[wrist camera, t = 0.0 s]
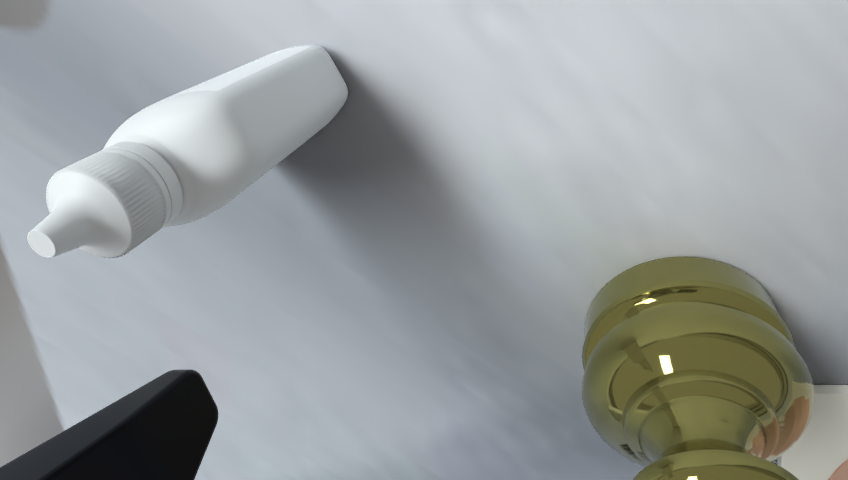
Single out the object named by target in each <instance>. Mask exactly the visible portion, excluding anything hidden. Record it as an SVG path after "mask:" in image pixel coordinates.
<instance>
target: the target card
mask: <svg viewBox="0 0 848 480" xmlns="http://www.w3.org/2000/svg"><path fill="white" fill-rule="evenodd" d="M814 390H815V403H814V409H813V413H812V417H811V419H810V422H809V424H808V426H807V428H806V430H805V431H804V433H803V434H802V436H801V437H800V438H799V440H798V441H797V442H796V443H795V444H794V445H793V446H792V447H791V448H790V449H789V450H788V451H786V452H785V453H784V454H782V455H781V456H780V457H778V460H777V465H778V466H780V467H782V468H784V469H786V470H787V471H789V472H790V473H792V474H793V475H794V476H795V477H797V478H798V479H799V480H848V385H814Z"/></svg>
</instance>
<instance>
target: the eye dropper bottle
mask: <svg viewBox="0 0 848 480" xmlns="http://www.w3.org/2000/svg"><path fill="white" fill-rule="evenodd" d="M347 96H348V89H347V86H346V83H345V82H344V80H343V78H342V76H341V74H340V73H339V71H338V69H337V67H336V66H335V64H334V62H333V60H332V59H331V57H330V56H329V54H328V53H327V52H326V51H325V50H324V49H323V47H320V46H317V45H302V46H295V47H290V48H286V49H282V50H279V51H276V52H274V53H271V54H269V55H266V56H264V57H262V58H259V59H257V60H255V61H252V62H250V63H247V64H245V65H243V66H240V67H238V68H236V69H233V70H231V71H229V72H226V73H224V74H221V75H219V76H217V77H214V78H212V79H210V80H207V81H205V82H203V83H200V84H198V85H196V86H193V87H191V88H188V89H186V90H184V91H181V92H179V93H177V94H174V95H172V96H170V97H167V98H165V99H163V100H161V101H158V102H156V103H154V104H152V105H150V106H148V107H146V108H144V109H143V110H141V111H139V112H138V113H136V114H134V115H133V116H132V117H130V118H129V119H128V120H126V121H125V122H124V123H123V124H122V125H121V126H120V127H119V128H118V129H117V130H116V131H115V132H114V133H113V135H112V136H111V137H110V139H109V140H108V142H107V143H106V145H105V147H104V149H103V150H101V151H99V152H97V153H95V154H93V155H91V156H89V157H87V158H84V159H82V160H80V161H78V162H76V163H74V164H72V165H70V166H68V167H65V168H63V169H61V170H59V171H58V172H56V173H55V174H54V175H53V176H52V177H51V178H50V181H49V182H48V184H47V189H46V201H47V206H48V209H49V212H50V214H49V215H48V216H47V217H46V218H45V219H44V220H43V221H41V222H40V223H39V224H38V225H37V226H36V227H35V228H34V229H32V230H31V231H30V232H29V233H28V236H27V239H28V242H29V245H30V246H31V248H32V249H33V250H34V251H35V252H36V253H37V254H39V255H40V256H42V257H45V258H52V257H54V256H57V255H60V254H62V253H65V252H67V251H70V250H73V249H75V248H78V247H79V248H80V249H82V250H84V251H86V252H88V253H90V254H93V255H96V256H99V257H104V258H115V257H119V256H123V255H125V254H127V253H128V252H130V251H131V250H132V249H134V248H135V247H136V246H138V245H139V244H141V243H142V242H143V241H145V240H146V239H147V238H149V237H150V236H152V235H153V234H154V233H156V232H157V231H158V230H160V229H161V228H163V227H167V226H176V225H181V224H186V223H189V222H192V221H195V220H198V219H200V218H203V217H205V216H207V215H209V214H211V213H212V212H214V211H216V210H218V209H219V208H221V207H222V206H224V205H225V204H227V203H228V202H229V201H231V200H232V199H233V198H235V197H236V196H237V195H238V194H240V193H241V192H242V191H244V190H245V189H246V188H247V187H249V186H250V185H251V184H253V183H254V182H255V181H256V180H258V179H259V178H260V177H261V176H263V175H264V174H265V173H267V172H268V171H269V170H270V169H272V168H273V167H274V166H275V165H277V164H278V163H279V162H281V161H282V160H283V159H284V158H286V157H287V156H288V155H289V154H291V153H292V152H293V151H294V150H296V149H297V148H298V147H300V146H301V145H302V144H303V143H305V142H306V141H307V140H308V139H310V138H311V137H312V136H313V135H315V134H316V133H317V132H319V131H320V130H321V129H322V128H323V127H325V126H326V125H327V124H328V123H329V122H330V121H331V120H332V119H333V118H334V117H335V115H336V114H337V113H338V112H339V110H340V109H341V108H342V106H343V105H344V103H345V101H346V100H347Z"/></svg>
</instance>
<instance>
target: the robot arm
mask: <svg viewBox="0 0 848 480" xmlns="http://www.w3.org/2000/svg"><path fill="white" fill-rule="evenodd" d="M217 421H218V409H217V406H216V404H215V402H214V400H213V398H212V396H211V394H210V392H209V390H208V388H207V386H206V384H205V382H204V380H203V378H202V377H201V375H200V374H199V373H198V372H196V371H194V370H172V371H169V372H167V373H165V374H163V375H161V376H160V377H158V378H156V379H154V380H153V381H151V382H149V383H147V384H146V385H144V386H142V387H140V388H139V389H137V390H135V391H133V392H132V393H130V394H128V395H126V396H125V397H123V398H121V399H119V400H118V401H116V402H114V403H112V404H111V405H109V406H107V407H105V408H104V409H102V410H100V411H98V412H97V413H95V414H93V415H91V416H90V417H88V418H86V419H84V420H83V421H81V422H79V423H77V424H76V425H74V426H72V427H70V428H69V429H67V430H65V431H63V432H62V433H60V434H58V435H56V436H55V437H53V438H51V439H49V440H48V441H46V442H44V443H42V444H41V445H39V446H37V447H35V448H34V449H32V450H30V451H28V452H27V453H25V454H23V455H21V456H20V457H18V458H16V459H14V460H13V461H11V462H9V463H7V464H6V465H4V466H2V467H0V480H194V479H195V476H196V474H197V471H198V469H199V466H200V464H201V461H202V459H203V456H204V454H205V452H206V449H207V447H208V444H209V442H210V439H211V437H212V434H213V432H214V429H215V427H216V424H217Z"/></svg>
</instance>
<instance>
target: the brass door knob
mask: <svg viewBox="0 0 848 480" xmlns="http://www.w3.org/2000/svg"><path fill="white" fill-rule="evenodd" d="M582 360H583V367H584V371H585V372H584V377H583V382H582V398H583V404H584V408H585V411H586V414H587V416H588V419H589V421H590V423H591V424H592V426H593V428H594V429H595V430H596V432H597V433H598V435H599V436H600V437H601V438H602V439H603V440H604V441H605V442H606V443H607V444H608V445H609V446H610V447H611V448H613V449H614V450H615V451H616V452H618V453H619V454H620V455H622V456H623V457H625V458H627V459H628V460H630V461H632V462H634V463H636V464H638V465H640V466H643V467H645V468H644V469H643V470H642V471H640V472H639V473H638V474H637V475H636V476H635V478H634V479H633V480H799V479H798V478H797V477H795V476H794V475H793V474H792V473H790V472H789V471H787V470H786V469H784V468H782V467H780V466H778V465H777V464H775V463H772V461H773V460H775V459H776V458H778V457H780V456H781V455H782V454H784V453H785V452H786V451H788V450H789V449H790V448H791V447H792V446H793V445H794V444H795V443H796V442H797V441H798V440H799V438H800V437H801V436H802V434H803V433H804V431H805V430H806V428H807V426H808V424H809V422H810V419H811V417H812V413H813V409H814V403H815V390H814V384H813V379H812V376H811V373H810V371H809V369H808V367H807V365H806V363H805V361H804V360H803V358H802V356H801V355H800V354H799V353H798V351H797V350H796V349H795V345H794V341H793V337H792V335H791V332H790V330H789V328H788V326H787V325H786V323H785V322H784V320H783V319H782V318H781V317H780V315H779V313H778V311H777V309H776V307H775V305H774V303H773V301H772V299H771V297H770V296H769V294H768V293H767V292H766V290H765V289H764V288H763V287H762V286H761V285H760V284H759V283H758V282H757V281H756V280H754V279H753V278H752V277H750V276H749V275H747V274H746V273H744V272H743V271H741V270H739V269H737V268H735V267H733V266H730V265H728V264H725V263H722V262H718V261H715V260H710V259H705V258H698V257H669V258H662V259H657V260H652V261H649V262H645V263H642V264H639V265H637V266H634V267H632V268H630V269H628V270H626V271H624V272H622V273H621V274H619V275H618V276H616V277H615V278H613V279H612V280H611V281H610V282H608V283H607V284H606V285H605V286H604V287H603V288H602V289H601V290H600V291H599V293H598V294H597V295H596V297H595V298H594V299H593V301H592V303H591V305H590V307H589V309H588V312H587V315H586V319H585V327H584V345H583V353H582Z"/></svg>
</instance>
